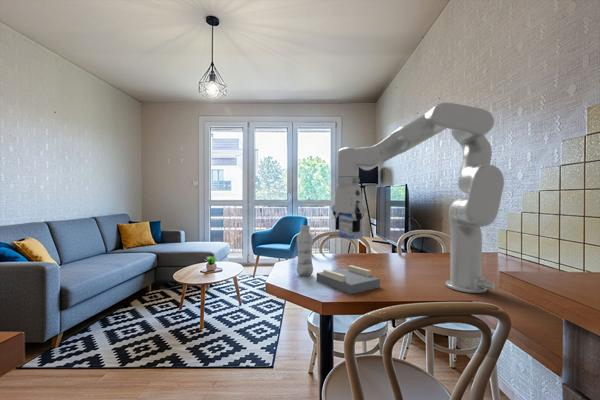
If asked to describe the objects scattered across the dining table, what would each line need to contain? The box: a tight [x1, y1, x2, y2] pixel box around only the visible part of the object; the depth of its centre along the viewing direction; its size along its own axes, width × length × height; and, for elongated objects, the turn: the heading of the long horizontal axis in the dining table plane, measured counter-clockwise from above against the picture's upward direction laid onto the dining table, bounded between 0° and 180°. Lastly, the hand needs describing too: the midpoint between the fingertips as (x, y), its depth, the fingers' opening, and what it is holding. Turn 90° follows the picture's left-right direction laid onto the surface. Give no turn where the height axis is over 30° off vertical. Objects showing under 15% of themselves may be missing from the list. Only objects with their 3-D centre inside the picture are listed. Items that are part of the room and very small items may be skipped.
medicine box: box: [338, 213, 363, 240], centre depth 104 cm, size 8×4×9 cm, turn 35°
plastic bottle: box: [296, 224, 314, 277], centre depth 115 cm, size 6×7×20 cm
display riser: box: [316, 264, 381, 295], centre depth 103 cm, size 18×14×5 cm
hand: (347, 230), depth 103 cm, fingers closed on medicine box, 8 cm apart
